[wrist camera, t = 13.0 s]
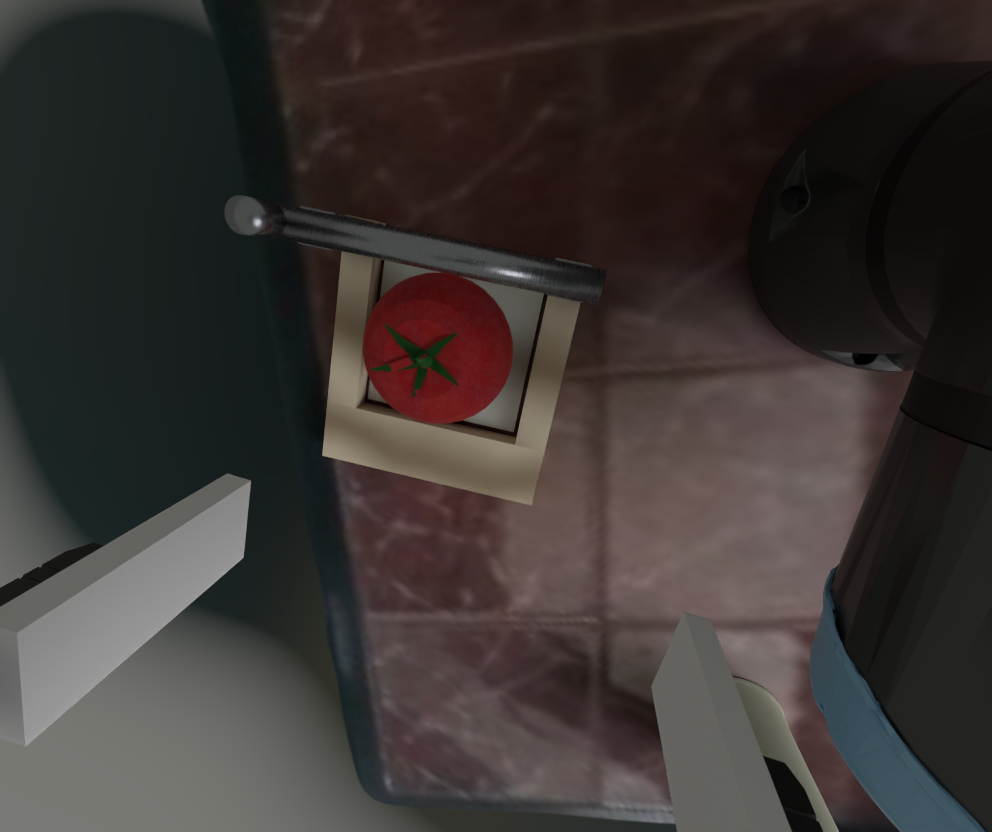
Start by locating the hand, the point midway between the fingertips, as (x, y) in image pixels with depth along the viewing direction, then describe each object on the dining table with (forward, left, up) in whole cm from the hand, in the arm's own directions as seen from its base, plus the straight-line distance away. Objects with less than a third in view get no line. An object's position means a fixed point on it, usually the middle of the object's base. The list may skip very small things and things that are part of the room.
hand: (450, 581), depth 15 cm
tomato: (+1, -6, -20) cm, 21 cm away
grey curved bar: (-2, -10, -19) cm, 21 cm away
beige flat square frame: (+2, -5, -20) cm, 21 cm away
